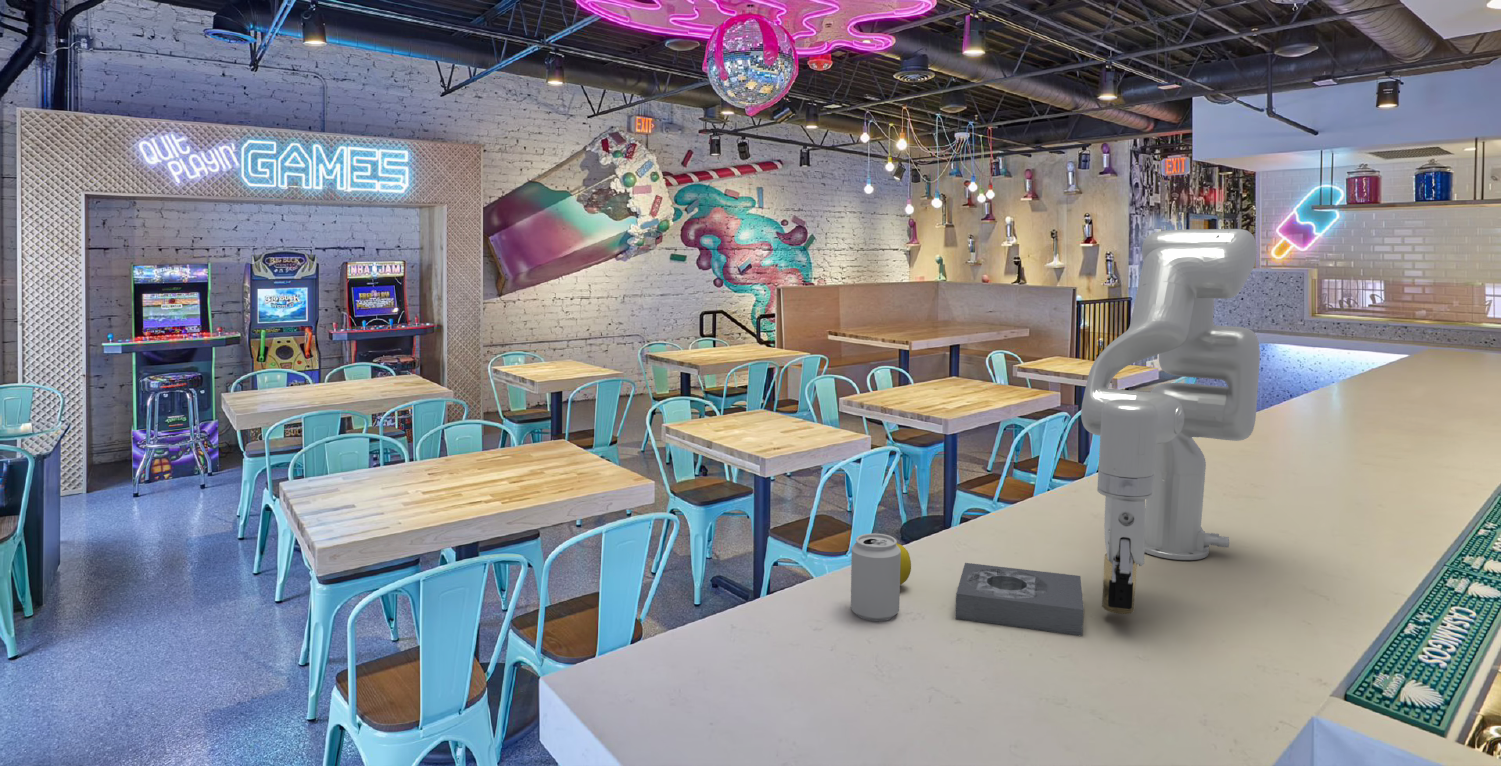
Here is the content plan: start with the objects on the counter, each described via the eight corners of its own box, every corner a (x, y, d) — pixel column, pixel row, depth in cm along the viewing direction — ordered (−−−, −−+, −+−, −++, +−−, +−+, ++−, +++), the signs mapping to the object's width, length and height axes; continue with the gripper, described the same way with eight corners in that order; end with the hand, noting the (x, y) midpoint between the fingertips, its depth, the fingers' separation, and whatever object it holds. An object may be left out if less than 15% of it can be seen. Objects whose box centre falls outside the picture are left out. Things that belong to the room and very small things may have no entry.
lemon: (873, 582, 143) (874, 536, 142) (905, 581, 143) (906, 536, 142) (881, 595, 137) (882, 548, 136) (914, 594, 138) (915, 547, 137)
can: (864, 599, 136) (865, 527, 134) (907, 610, 131) (909, 536, 130) (841, 615, 129) (842, 540, 128) (886, 627, 125) (888, 550, 124)
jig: (1079, 599, 135) (1080, 575, 135) (1082, 635, 122) (1083, 609, 122) (964, 585, 141) (965, 562, 141) (955, 618, 128) (956, 593, 128)
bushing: (1132, 603, 129) (1135, 553, 128) (1135, 615, 125) (1138, 563, 123) (1101, 599, 130) (1103, 550, 129) (1102, 611, 126) (1105, 560, 125)
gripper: (1160, 502, 115) (1151, 627, 118) (1147, 470, 131) (1140, 581, 134) (1100, 497, 118) (1094, 620, 121) (1095, 467, 133) (1089, 576, 136)
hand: (1118, 598), depth 127 cm, fingers closed on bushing, 4 cm apart
